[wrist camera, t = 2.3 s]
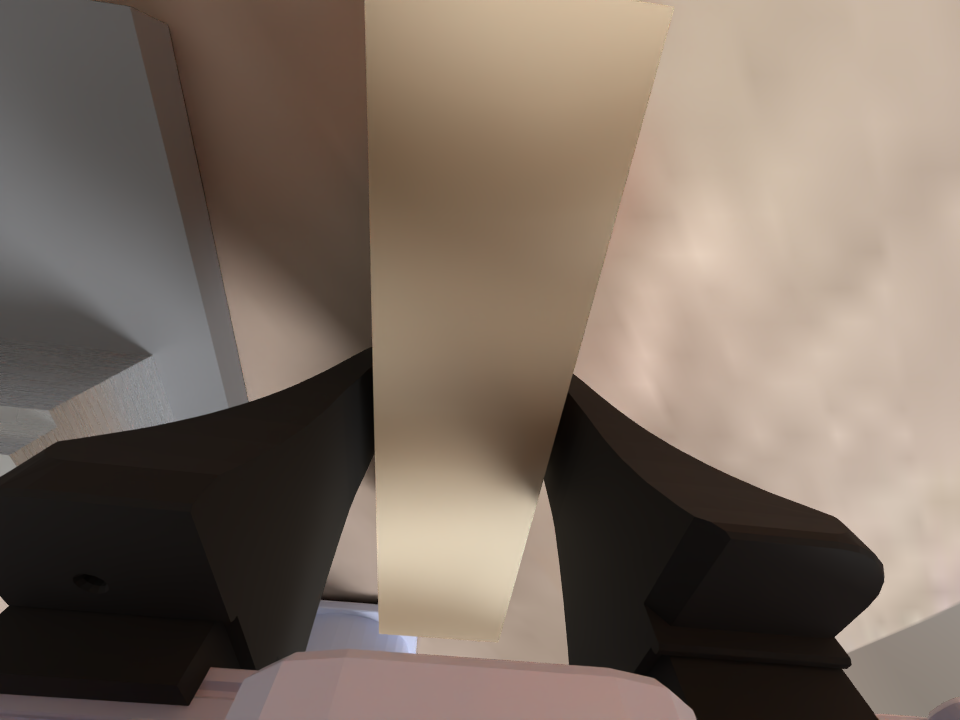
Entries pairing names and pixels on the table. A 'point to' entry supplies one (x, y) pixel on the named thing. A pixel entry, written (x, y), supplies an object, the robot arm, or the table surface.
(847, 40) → the table surface
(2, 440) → the metal ridge
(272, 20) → the table surface
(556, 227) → the beech bar
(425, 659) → the robot arm
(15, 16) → the base plate
